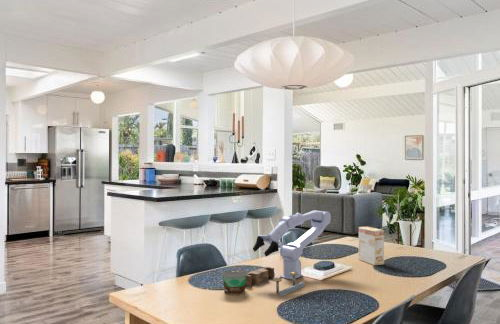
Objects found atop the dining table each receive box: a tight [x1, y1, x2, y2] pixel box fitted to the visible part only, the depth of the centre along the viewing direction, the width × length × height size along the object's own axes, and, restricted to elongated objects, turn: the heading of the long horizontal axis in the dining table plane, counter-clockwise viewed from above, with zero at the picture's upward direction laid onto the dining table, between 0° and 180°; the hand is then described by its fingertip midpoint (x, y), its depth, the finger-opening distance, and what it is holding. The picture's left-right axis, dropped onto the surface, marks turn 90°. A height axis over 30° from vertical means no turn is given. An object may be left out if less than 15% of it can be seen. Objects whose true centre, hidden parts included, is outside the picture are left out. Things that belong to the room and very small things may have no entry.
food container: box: [220, 269, 248, 295], centre depth 195 cm, size 12×6×10 cm, turn 105°
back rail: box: [279, 281, 305, 297], centre depth 197 cm, size 18×1×2 cm, turn 140°
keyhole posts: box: [272, 272, 298, 294], centre depth 199 cm, size 17×4×6 cm, turn 140°
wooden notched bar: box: [245, 266, 275, 288], centre depth 212 cm, size 19×5×5 cm, turn 140°
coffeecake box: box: [358, 225, 385, 266], centre depth 248 cm, size 15×7×20 cm, turn 22°
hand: (259, 252), depth 206 cm, fingers open, 7 cm apart
